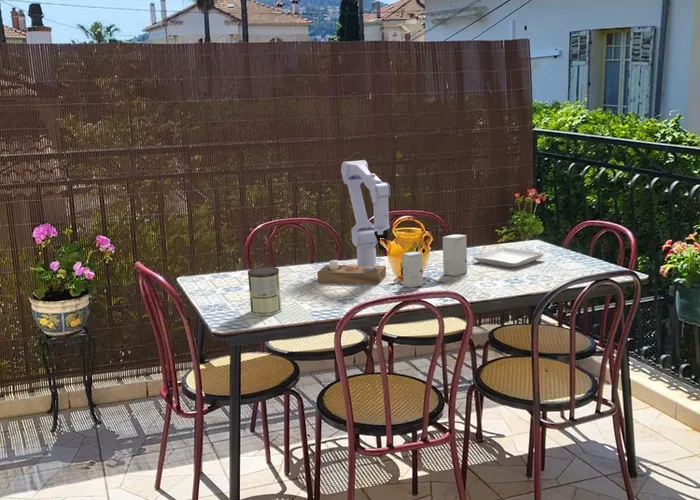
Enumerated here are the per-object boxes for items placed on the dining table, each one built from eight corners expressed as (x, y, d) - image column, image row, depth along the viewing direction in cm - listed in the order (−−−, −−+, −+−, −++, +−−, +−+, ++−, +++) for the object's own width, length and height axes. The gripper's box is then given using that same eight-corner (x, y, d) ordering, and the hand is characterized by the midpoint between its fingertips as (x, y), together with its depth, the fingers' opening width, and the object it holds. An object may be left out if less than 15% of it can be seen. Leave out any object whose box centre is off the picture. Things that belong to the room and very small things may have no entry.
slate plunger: (366, 277, 277) (365, 266, 276) (375, 277, 276) (375, 266, 275) (364, 280, 274) (363, 268, 273) (373, 280, 273) (372, 269, 272)
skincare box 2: (455, 276, 273) (454, 238, 270) (442, 274, 277) (441, 236, 274) (467, 272, 279) (467, 234, 276) (455, 270, 283) (454, 233, 280)
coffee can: (245, 311, 241) (241, 270, 238) (271, 305, 247) (268, 265, 244) (260, 317, 233) (257, 275, 230) (287, 311, 239) (284, 269, 236)
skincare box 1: (410, 288, 260) (409, 255, 258) (402, 285, 264) (401, 253, 261) (423, 285, 263) (422, 252, 261) (416, 282, 267) (415, 250, 264)
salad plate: (471, 264, 294) (471, 255, 293) (502, 254, 308) (502, 246, 307) (515, 271, 278) (514, 262, 278) (545, 261, 292) (545, 252, 291)
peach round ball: (348, 275, 279) (348, 264, 278) (357, 275, 278) (357, 264, 277) (346, 277, 275) (345, 266, 274) (355, 278, 274) (354, 266, 273)
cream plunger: (331, 270, 280) (330, 260, 279) (340, 271, 279) (339, 260, 278) (328, 273, 277) (328, 262, 276) (337, 273, 276) (337, 262, 275)
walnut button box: (326, 274, 286) (326, 264, 285) (386, 275, 279) (385, 265, 278) (317, 282, 274) (317, 272, 273) (379, 283, 268) (378, 273, 267)
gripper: (372, 211, 282) (374, 245, 285) (368, 218, 268) (370, 253, 271) (390, 211, 281) (391, 245, 284) (387, 217, 267) (389, 253, 270)
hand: (382, 249), depth 277 cm, fingers closed
